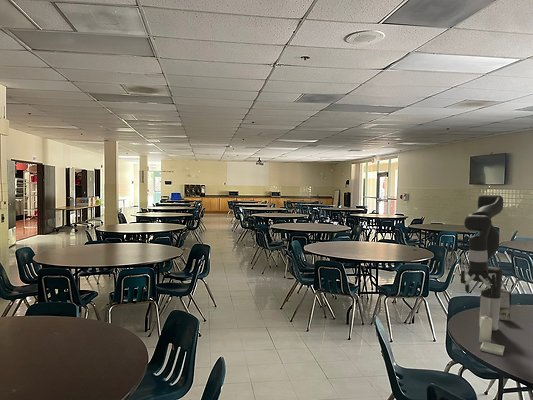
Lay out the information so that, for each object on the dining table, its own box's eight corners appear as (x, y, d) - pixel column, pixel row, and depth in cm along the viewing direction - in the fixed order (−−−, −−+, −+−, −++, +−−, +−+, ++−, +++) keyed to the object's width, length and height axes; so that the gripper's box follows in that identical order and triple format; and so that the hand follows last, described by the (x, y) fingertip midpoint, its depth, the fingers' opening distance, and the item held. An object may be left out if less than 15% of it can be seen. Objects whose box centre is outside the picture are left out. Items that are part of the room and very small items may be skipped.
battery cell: (479, 339, 199) (481, 314, 198) (491, 342, 196) (492, 316, 195) (478, 342, 195) (480, 316, 194) (490, 345, 192) (491, 319, 191)
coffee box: (510, 320, 229) (512, 293, 229) (498, 319, 231) (499, 292, 230) (504, 315, 238) (505, 289, 238) (492, 314, 240) (494, 288, 239)
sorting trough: (482, 344, 193) (482, 341, 193) (504, 349, 188) (504, 346, 188) (480, 350, 185) (480, 347, 185) (502, 355, 180) (502, 352, 180)
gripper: (497, 259, 178) (497, 294, 179) (463, 255, 187) (463, 289, 188) (494, 263, 172) (494, 299, 173) (458, 259, 181) (459, 294, 183)
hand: (478, 294), depth 181 cm, fingers open, 8 cm apart
